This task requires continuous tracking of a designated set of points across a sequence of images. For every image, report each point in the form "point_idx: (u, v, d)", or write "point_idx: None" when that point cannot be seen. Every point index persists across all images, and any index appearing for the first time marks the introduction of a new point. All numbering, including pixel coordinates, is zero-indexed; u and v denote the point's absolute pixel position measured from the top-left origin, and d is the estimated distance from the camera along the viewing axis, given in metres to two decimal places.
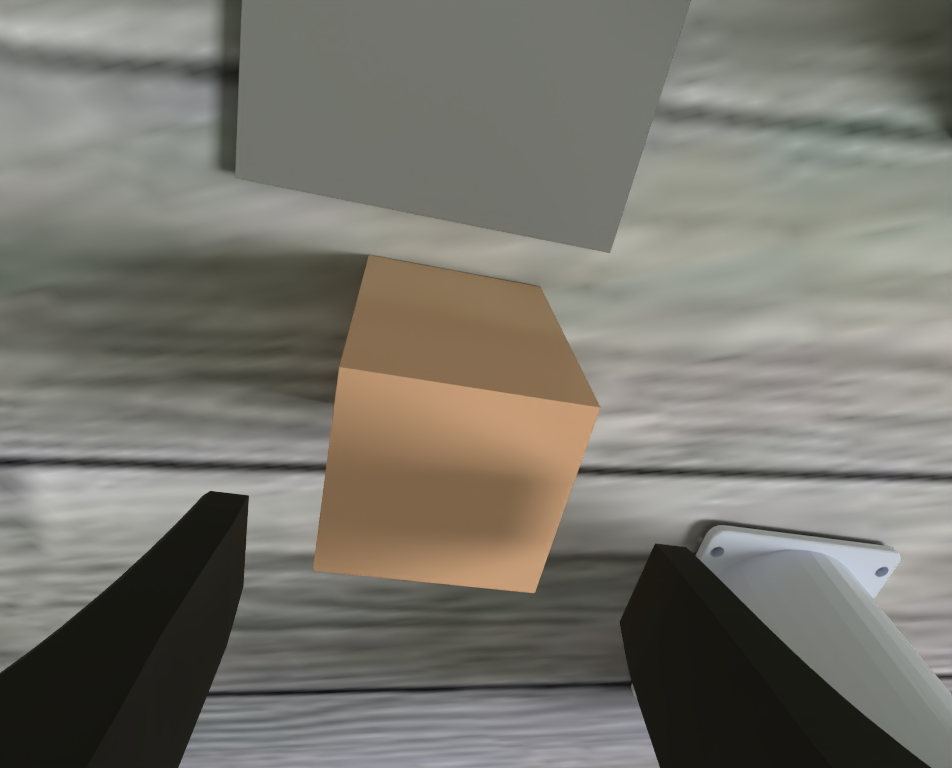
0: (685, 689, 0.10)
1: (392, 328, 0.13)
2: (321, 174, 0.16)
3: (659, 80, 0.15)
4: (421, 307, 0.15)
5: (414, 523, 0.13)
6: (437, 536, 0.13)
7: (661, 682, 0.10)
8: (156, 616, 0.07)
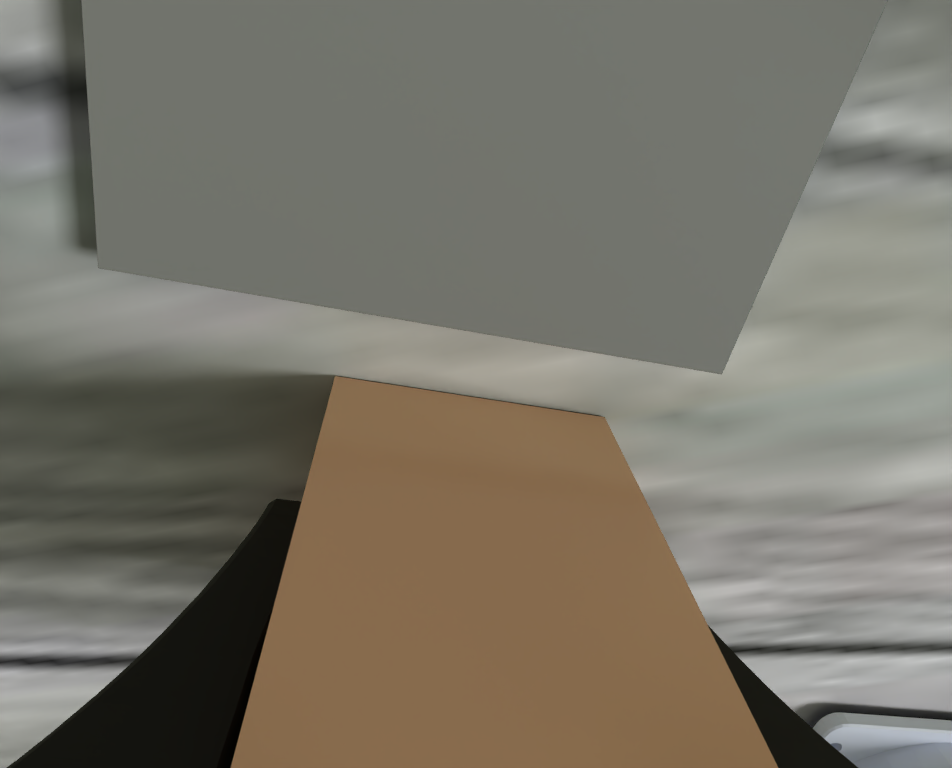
0: None
1: (361, 596, 0.07)
2: (247, 260, 0.09)
3: (833, 100, 0.09)
4: (418, 511, 0.08)
5: None
6: None
7: None
8: (250, 624, 0.07)
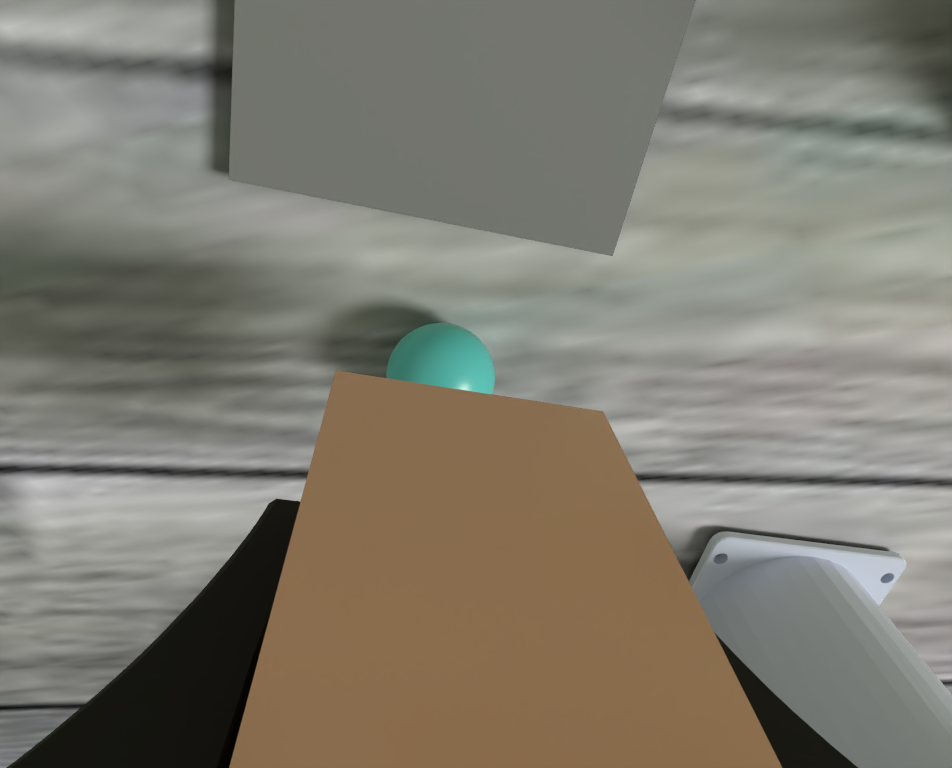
0: None
1: (362, 583, 0.07)
2: (317, 175, 0.15)
3: (663, 79, 0.15)
4: (419, 500, 0.08)
5: None
6: None
7: None
8: (250, 624, 0.07)
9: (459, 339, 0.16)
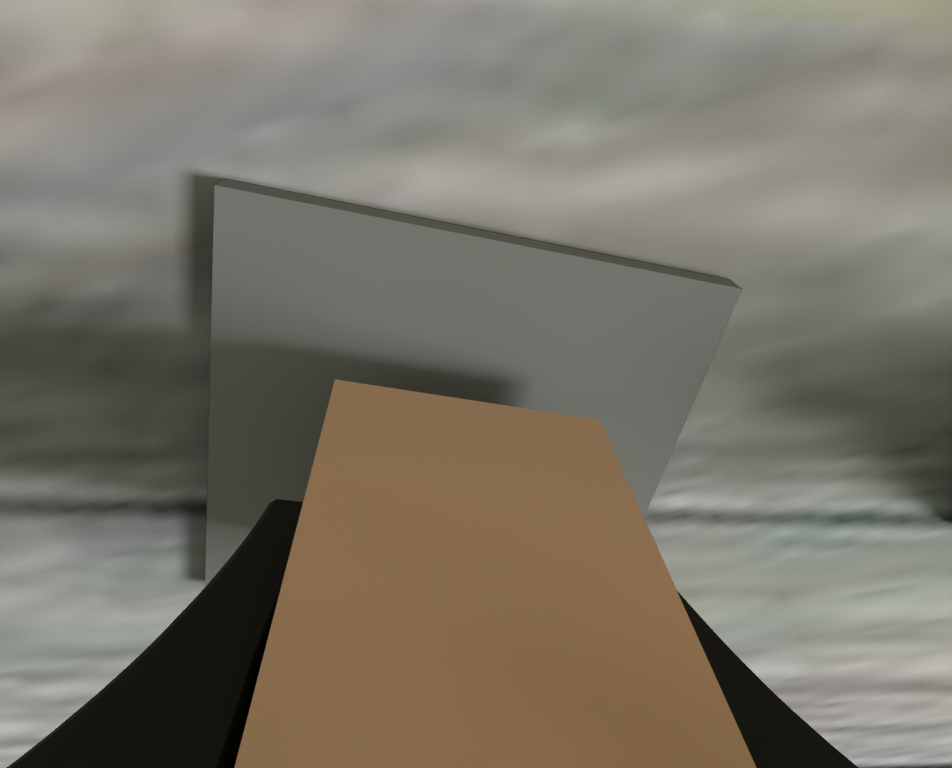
0: None
1: (358, 601, 0.07)
2: None
3: (641, 509, 0.15)
4: (416, 515, 0.08)
5: None
6: None
7: None
8: (250, 624, 0.07)
9: None
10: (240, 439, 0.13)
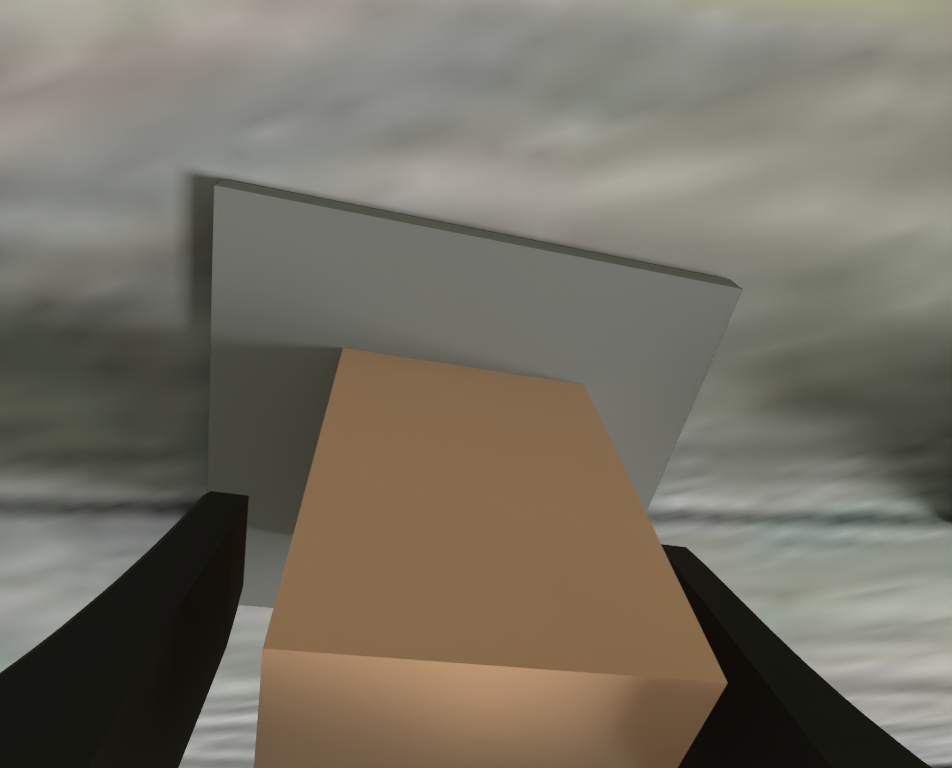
0: None
1: (368, 515, 0.08)
2: None
3: None
4: (417, 454, 0.10)
5: None
6: None
7: None
8: (156, 616, 0.07)
9: None
10: (240, 440, 0.13)
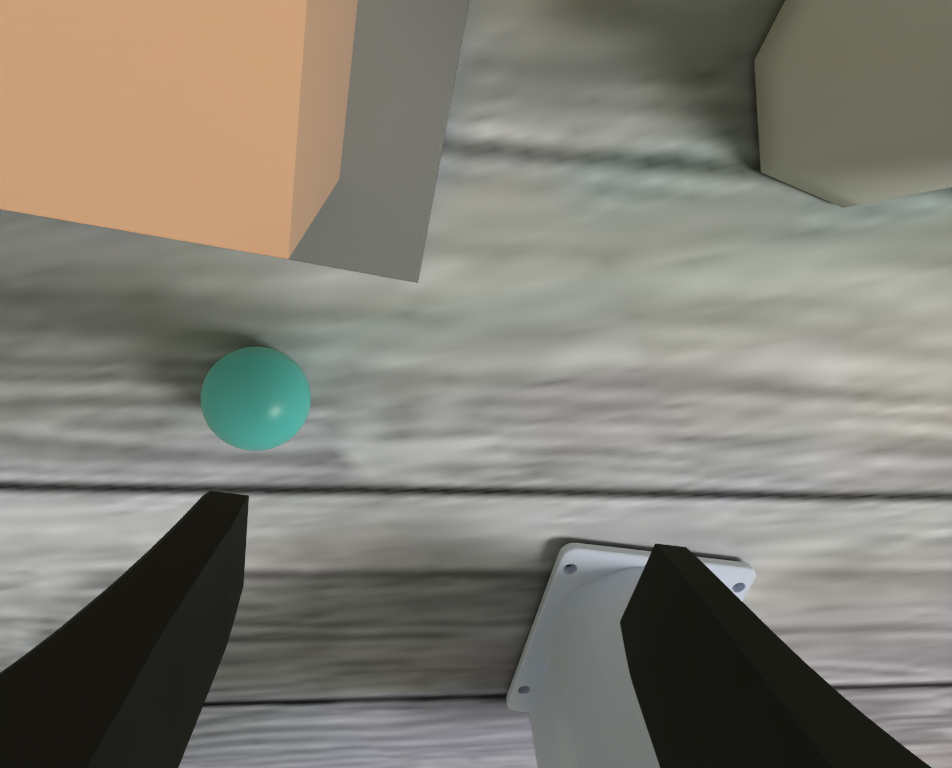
0: (685, 689, 0.10)
1: None
2: None
3: (442, 118, 0.16)
4: None
5: (74, 110, 0.09)
6: (116, 139, 0.09)
7: (661, 682, 0.10)
8: (156, 616, 0.07)
9: (264, 363, 0.17)
10: None
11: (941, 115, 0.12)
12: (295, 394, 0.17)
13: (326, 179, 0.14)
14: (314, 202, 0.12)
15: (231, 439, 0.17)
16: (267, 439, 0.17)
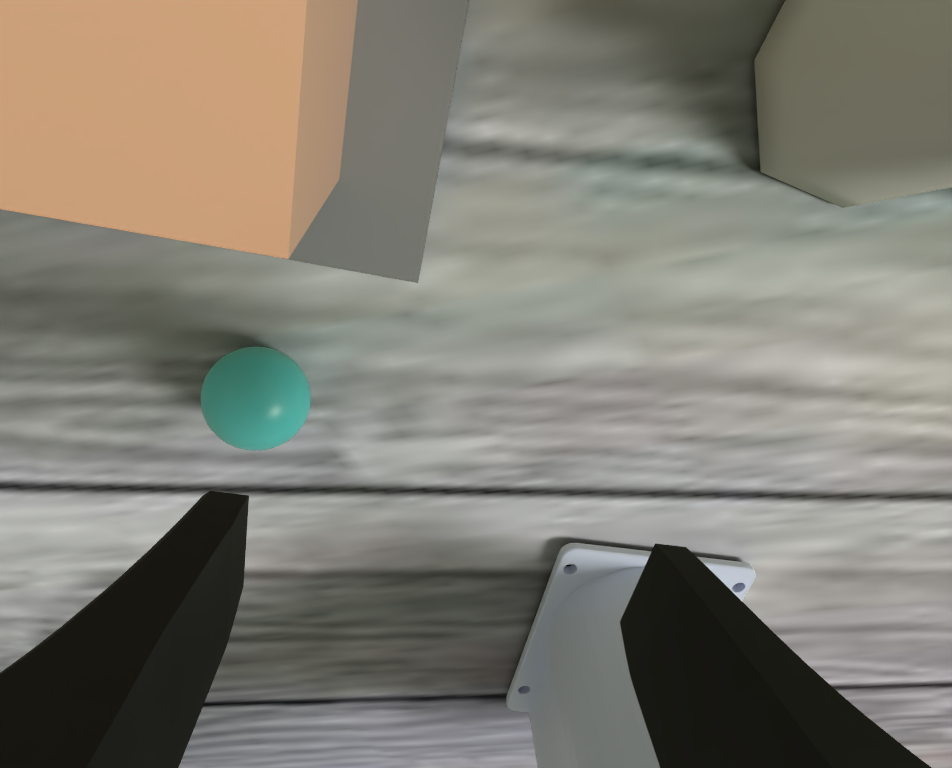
0: (685, 689, 0.10)
1: None
2: None
3: (442, 118, 0.16)
4: None
5: (74, 110, 0.09)
6: (116, 139, 0.09)
7: (661, 682, 0.10)
8: (156, 616, 0.07)
9: (264, 363, 0.17)
10: None
11: (940, 115, 0.12)
12: (295, 394, 0.17)
13: (326, 179, 0.14)
14: (314, 202, 0.12)
15: (231, 439, 0.17)
16: (267, 439, 0.17)
